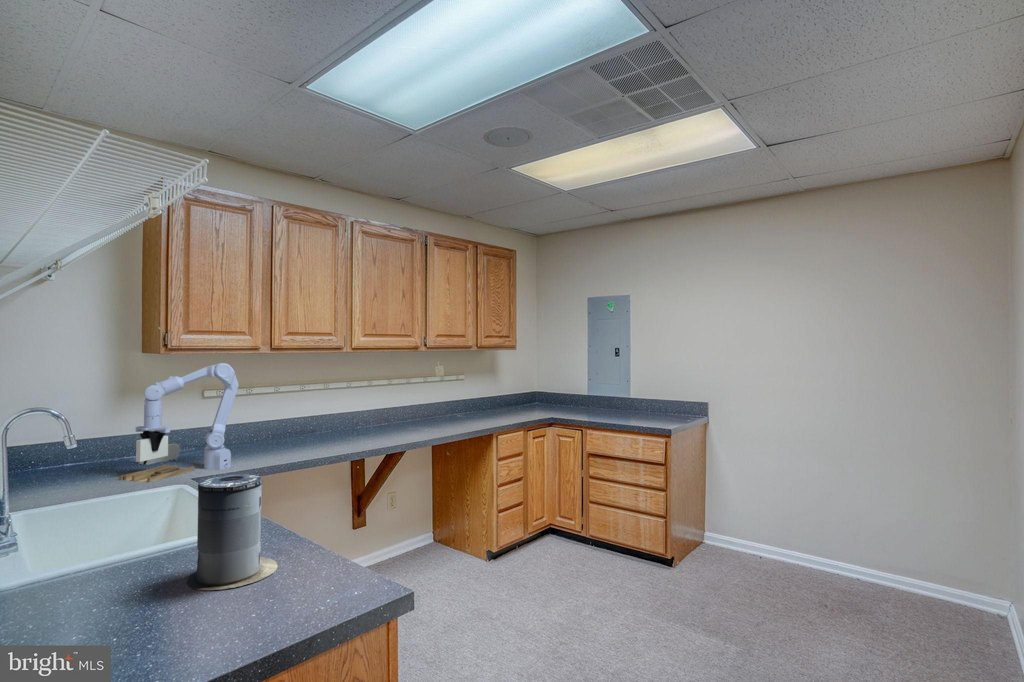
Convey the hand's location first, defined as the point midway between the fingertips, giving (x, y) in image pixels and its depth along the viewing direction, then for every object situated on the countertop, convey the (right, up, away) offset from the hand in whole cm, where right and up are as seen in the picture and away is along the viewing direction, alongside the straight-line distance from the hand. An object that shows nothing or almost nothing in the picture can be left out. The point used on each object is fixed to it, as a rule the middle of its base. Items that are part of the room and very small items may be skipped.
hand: (152, 450), depth 204 cm
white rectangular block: (0, -3, 0) cm, 3 cm away
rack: (+3, -10, -1) cm, 11 cm away
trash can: (+79, -8, -89) cm, 120 cm away
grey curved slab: (-14, -11, +26) cm, 32 cm away
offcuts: (+6, -9, -2) cm, 11 cm away
